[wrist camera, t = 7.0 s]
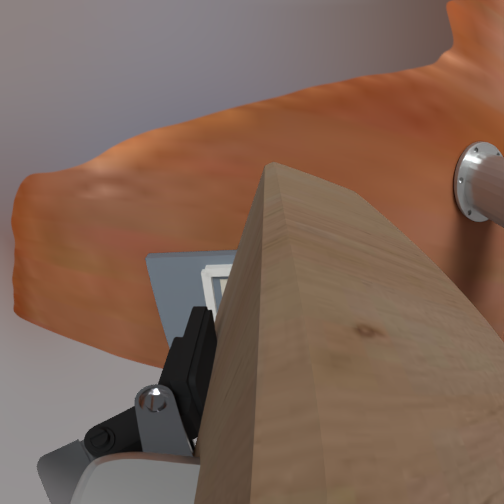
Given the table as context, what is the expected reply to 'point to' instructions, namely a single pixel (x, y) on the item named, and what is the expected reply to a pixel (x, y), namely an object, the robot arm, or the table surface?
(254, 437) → the decorative block
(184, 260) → the board
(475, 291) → the table surface
